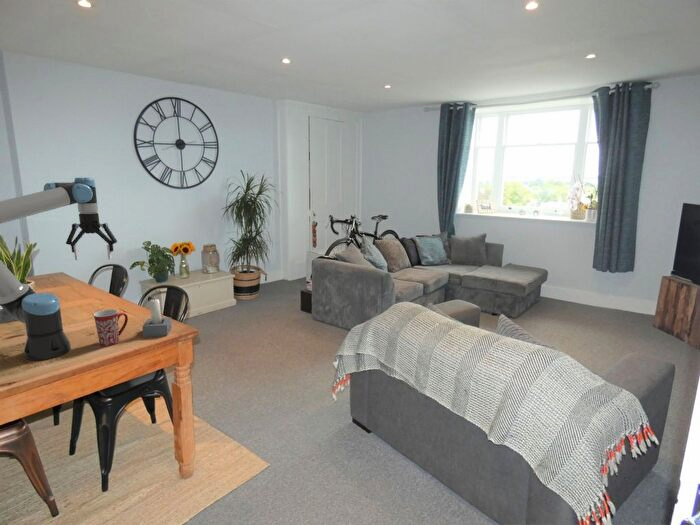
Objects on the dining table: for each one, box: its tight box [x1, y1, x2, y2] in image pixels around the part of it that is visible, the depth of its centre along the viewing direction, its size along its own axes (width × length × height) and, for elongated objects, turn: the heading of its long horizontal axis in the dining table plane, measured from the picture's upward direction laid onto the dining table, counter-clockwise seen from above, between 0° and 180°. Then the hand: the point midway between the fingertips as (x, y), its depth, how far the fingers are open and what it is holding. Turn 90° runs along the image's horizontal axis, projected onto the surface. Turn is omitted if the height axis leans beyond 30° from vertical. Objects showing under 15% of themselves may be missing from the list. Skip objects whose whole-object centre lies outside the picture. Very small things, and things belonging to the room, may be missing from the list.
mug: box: [92, 309, 129, 347], centre depth 179 cm, size 13×9×14 cm
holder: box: [141, 317, 173, 338], centre depth 191 cm, size 10×10×5 cm
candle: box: [149, 298, 162, 324], centre depth 190 cm, size 4×4×15 cm
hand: (93, 259), depth 193 cm, fingers open, 13 cm apart
